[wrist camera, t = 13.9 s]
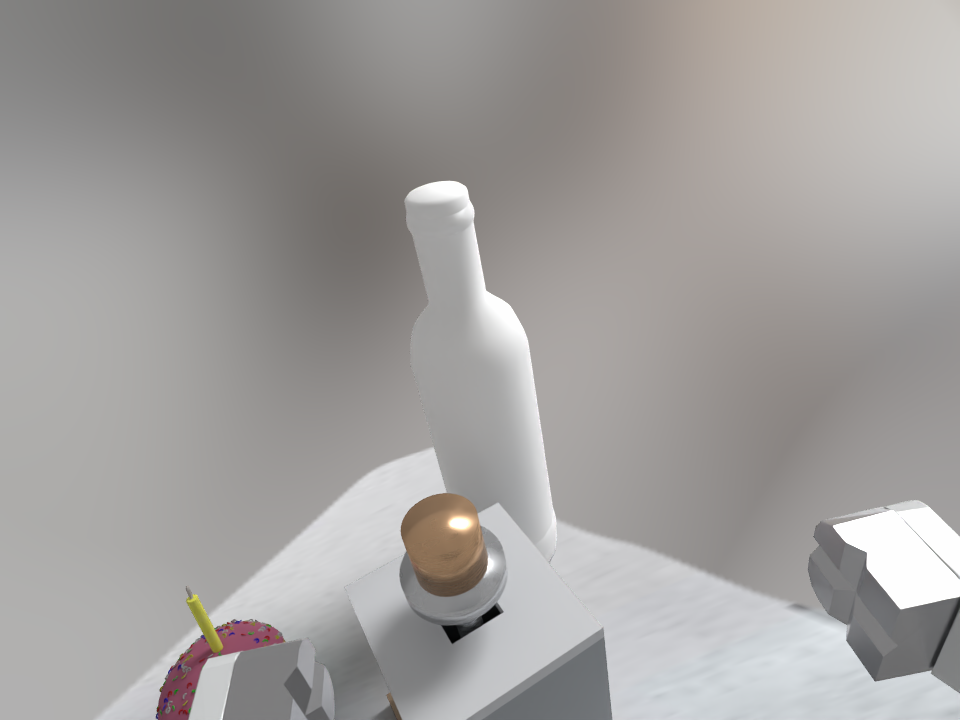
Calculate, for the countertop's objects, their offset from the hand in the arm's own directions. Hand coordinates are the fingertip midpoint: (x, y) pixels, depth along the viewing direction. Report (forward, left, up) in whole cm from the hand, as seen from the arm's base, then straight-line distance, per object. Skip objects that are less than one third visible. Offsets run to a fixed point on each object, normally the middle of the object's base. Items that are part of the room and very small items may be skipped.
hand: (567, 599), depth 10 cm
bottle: (-10, -26, -32) cm, 43 cm away
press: (-2, -14, -32) cm, 35 cm away
